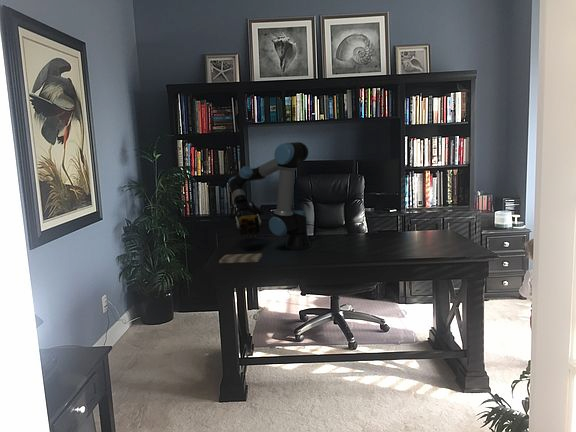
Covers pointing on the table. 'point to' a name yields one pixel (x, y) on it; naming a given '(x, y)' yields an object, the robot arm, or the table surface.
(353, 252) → the table surface
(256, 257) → the birch board
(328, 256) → the table surface
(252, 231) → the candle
